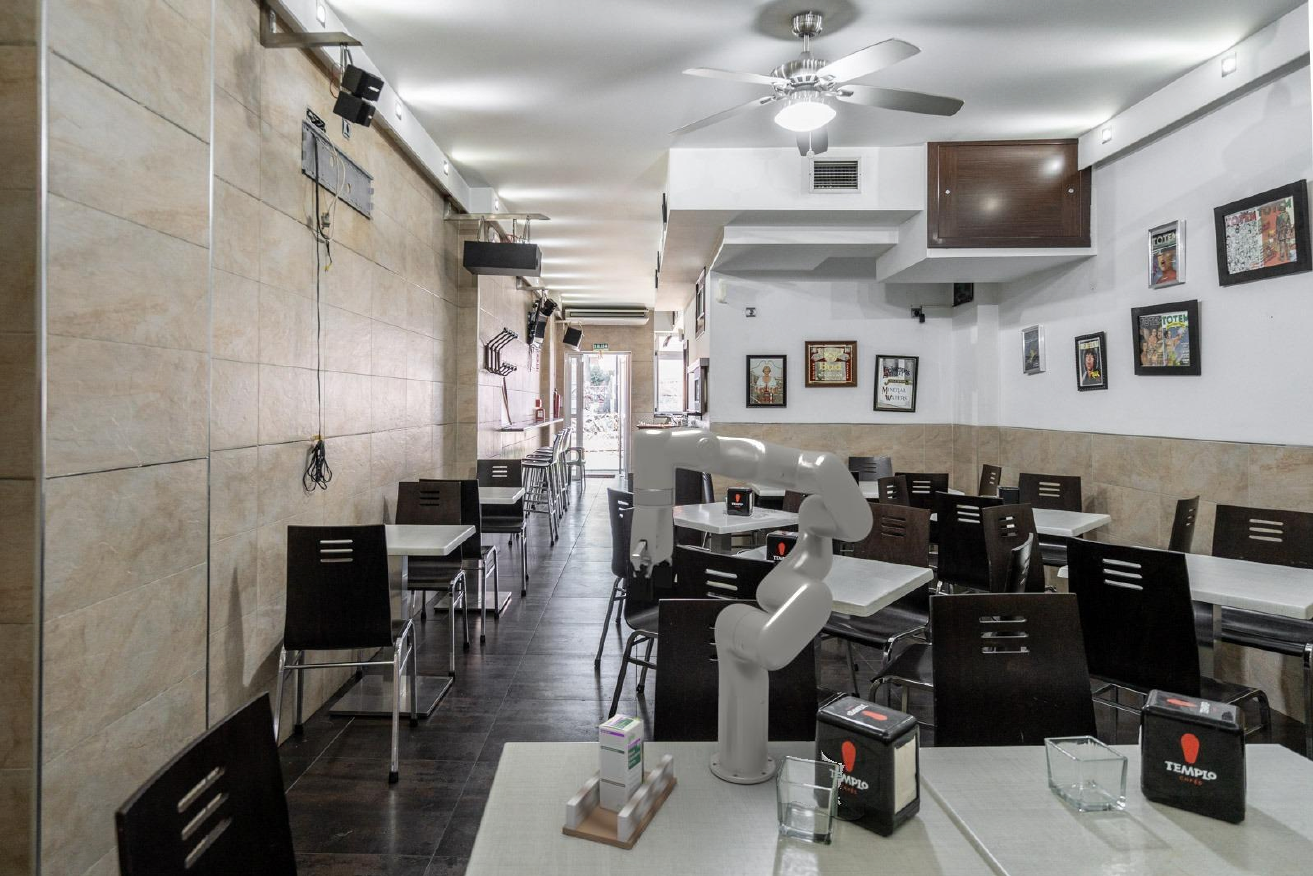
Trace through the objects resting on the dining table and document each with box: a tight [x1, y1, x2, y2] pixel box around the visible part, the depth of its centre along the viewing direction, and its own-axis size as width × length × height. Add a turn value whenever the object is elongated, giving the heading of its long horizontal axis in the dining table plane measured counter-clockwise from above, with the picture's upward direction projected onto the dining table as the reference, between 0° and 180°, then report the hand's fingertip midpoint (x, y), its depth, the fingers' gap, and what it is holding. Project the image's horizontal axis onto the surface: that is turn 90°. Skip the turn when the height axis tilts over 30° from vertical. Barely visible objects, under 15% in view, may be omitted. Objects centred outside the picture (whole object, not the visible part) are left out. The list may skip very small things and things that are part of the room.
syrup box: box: [598, 713, 645, 813], centre depth 124 cm, size 6×6×14 cm
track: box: [562, 754, 678, 850], centre depth 125 cm, size 22×12×5 cm, turn 159°
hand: (653, 593), depth 128 cm, fingers open, 9 cm apart
